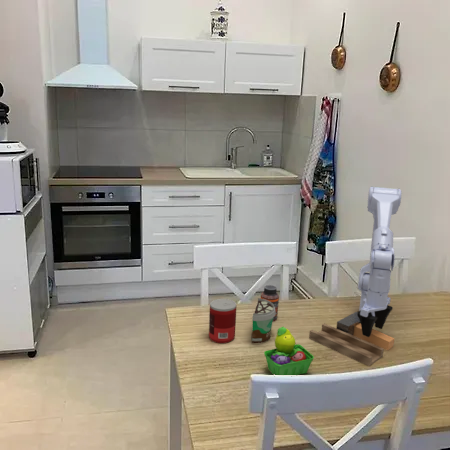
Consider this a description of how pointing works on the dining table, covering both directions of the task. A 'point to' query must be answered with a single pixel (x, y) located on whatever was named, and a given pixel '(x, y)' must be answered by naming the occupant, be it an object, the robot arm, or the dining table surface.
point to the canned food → (222, 320)
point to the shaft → (374, 337)
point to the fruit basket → (287, 355)
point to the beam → (348, 323)
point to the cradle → (347, 344)
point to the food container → (262, 321)
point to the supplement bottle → (271, 297)
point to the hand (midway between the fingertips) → (372, 331)
